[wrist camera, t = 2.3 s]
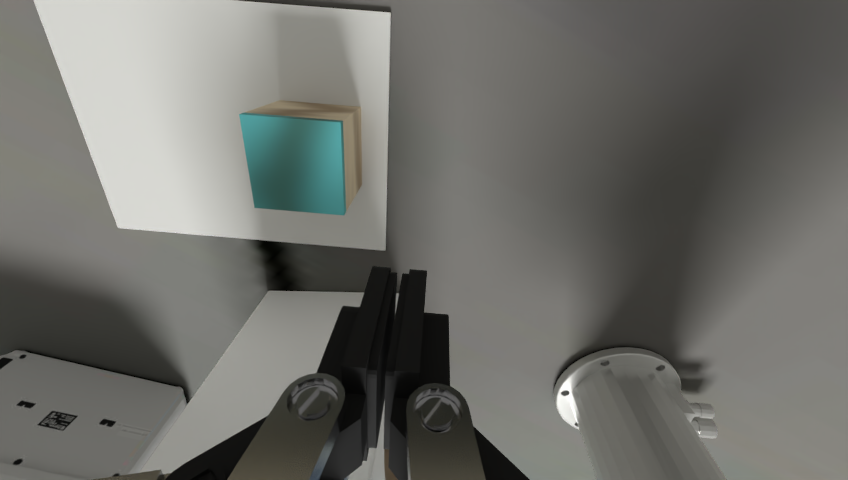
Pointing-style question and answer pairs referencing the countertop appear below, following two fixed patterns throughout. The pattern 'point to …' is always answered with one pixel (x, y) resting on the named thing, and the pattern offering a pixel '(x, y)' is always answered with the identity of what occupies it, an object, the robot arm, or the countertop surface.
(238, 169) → the mat
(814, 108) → the countertop surface
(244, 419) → the gable box
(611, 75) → the countertop surface
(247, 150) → the block
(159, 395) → the stereo radio cassette player
